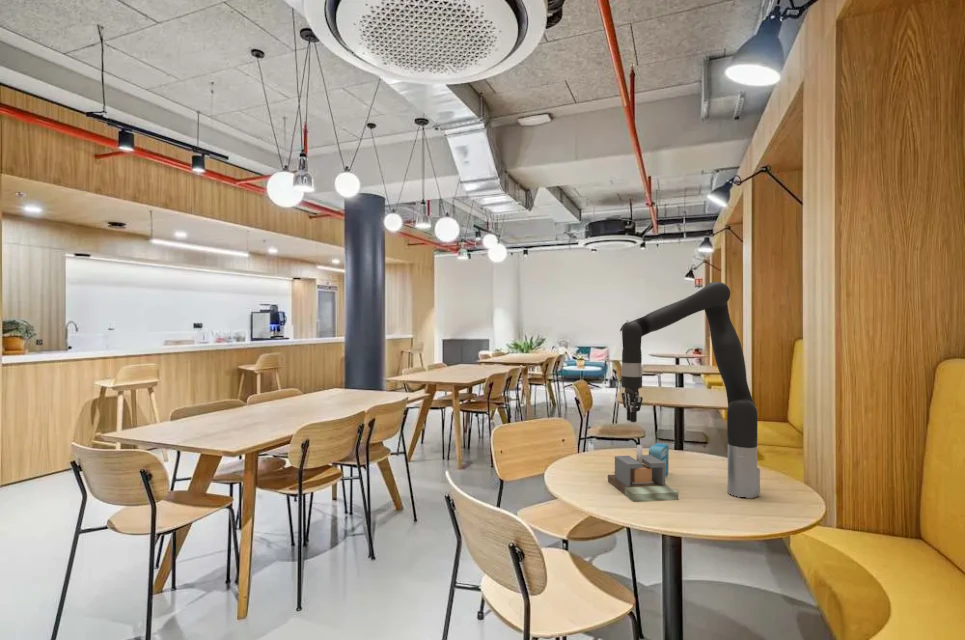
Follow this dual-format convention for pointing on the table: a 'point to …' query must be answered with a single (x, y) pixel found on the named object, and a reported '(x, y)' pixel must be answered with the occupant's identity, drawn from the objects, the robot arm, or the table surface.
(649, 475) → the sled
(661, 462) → the tunnel
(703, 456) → the table surface
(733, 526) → the table surface
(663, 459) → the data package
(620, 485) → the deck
